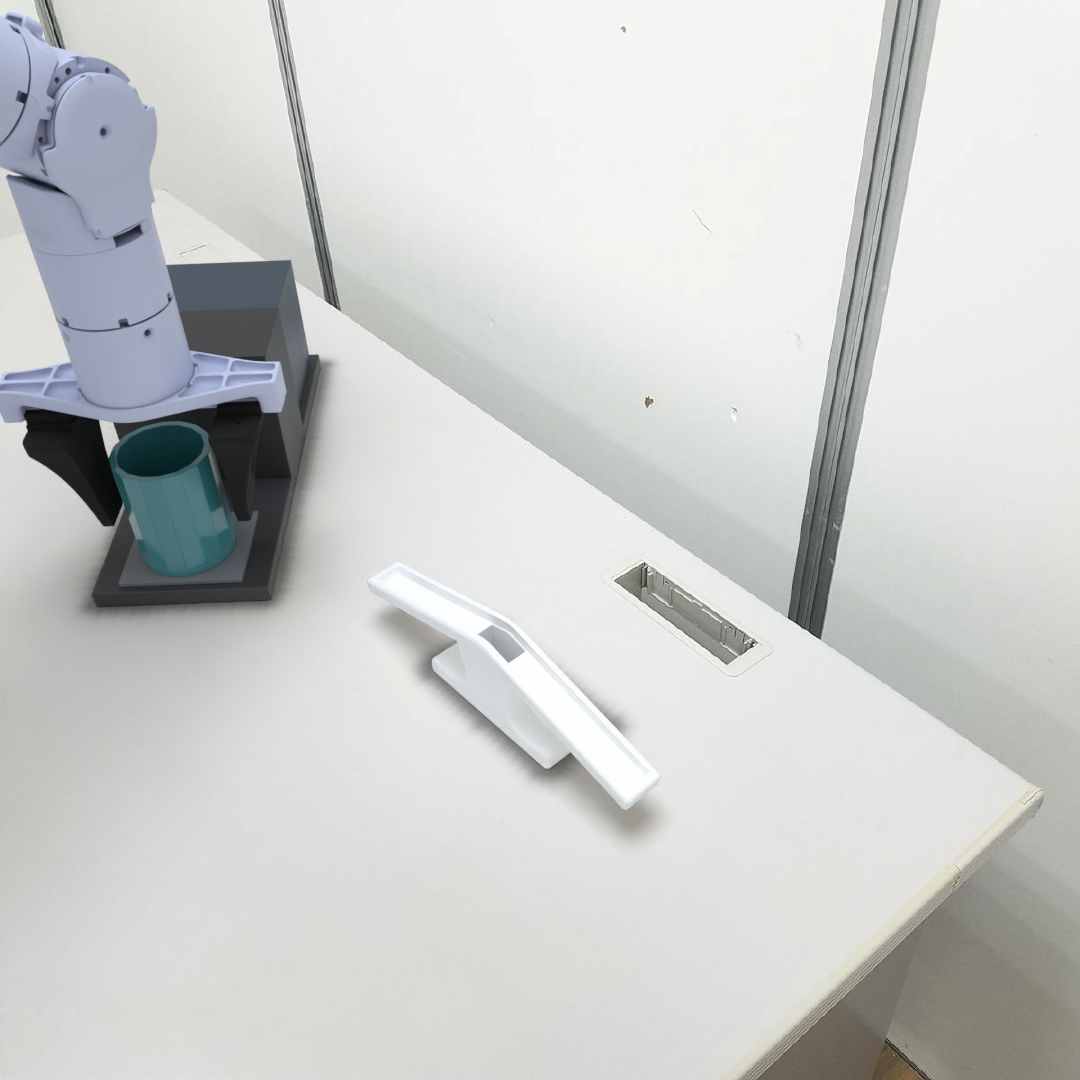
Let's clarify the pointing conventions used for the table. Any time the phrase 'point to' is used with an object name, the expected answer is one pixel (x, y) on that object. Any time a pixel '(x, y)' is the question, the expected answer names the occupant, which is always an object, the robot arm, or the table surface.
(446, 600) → the t-shaped cleat
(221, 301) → the coffee maker
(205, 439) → the cup
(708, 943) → the table surface
